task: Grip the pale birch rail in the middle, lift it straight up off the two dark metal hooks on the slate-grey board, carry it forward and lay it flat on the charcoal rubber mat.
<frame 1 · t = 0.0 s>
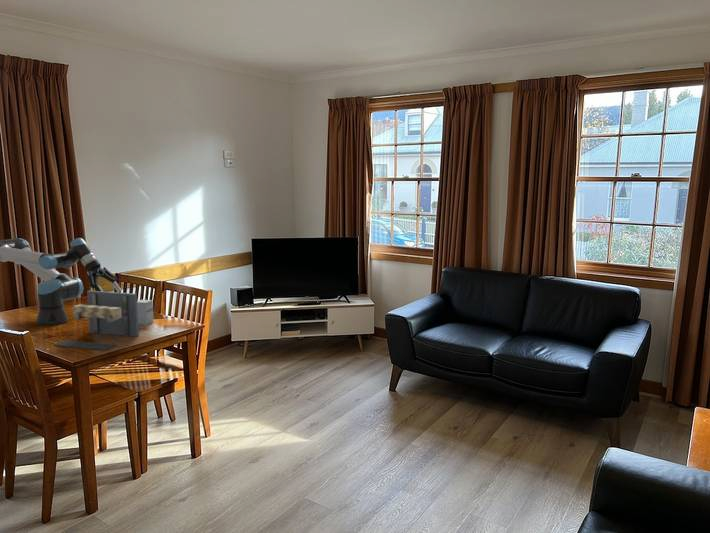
hand: (112, 294, 296), 15 cm above the table, tool tilted 35°, fingers open, 13 cm apart
birch rail: (97, 316, 259), point 12 cm above the table, touching hook standards
wall board: (112, 313, 270), on the table
rubber mat: (85, 345, 251), on the table
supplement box: (144, 323, 293), on the table
hook standards: (99, 339, 261), on the table
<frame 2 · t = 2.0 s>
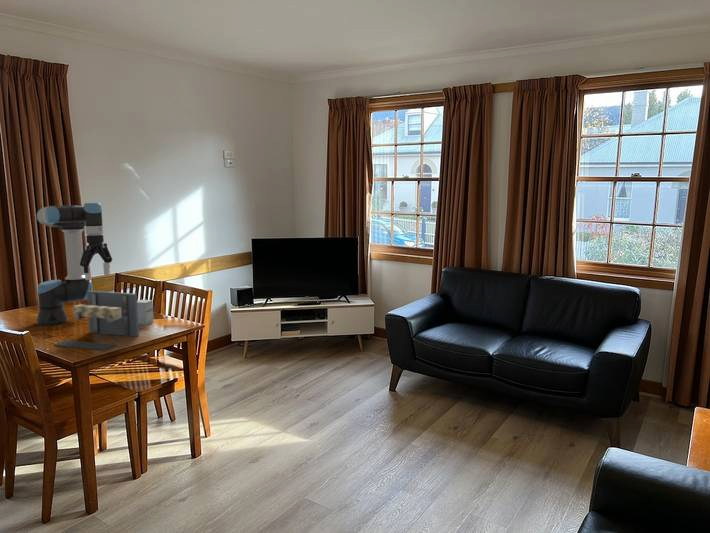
hand: (97, 277, 258), 31 cm above the table, tool pointing down, fingers open, 13 cm apart
nothing on the table moved.
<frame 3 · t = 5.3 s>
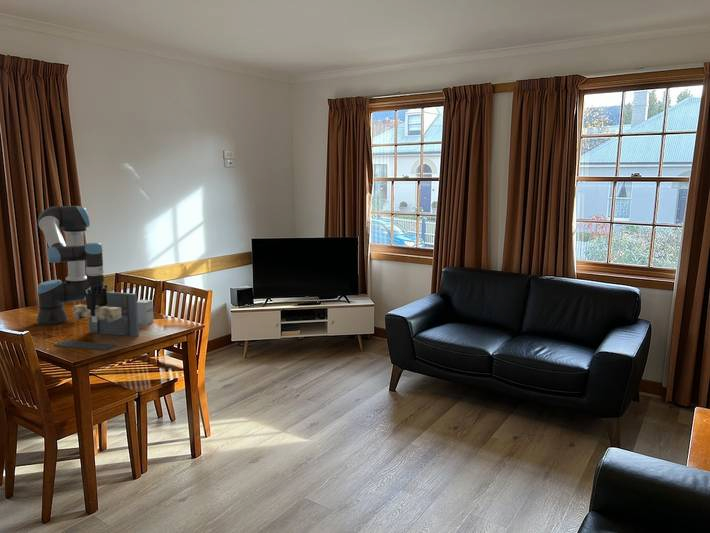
hand: (98, 320, 260), 10 cm above the table, tool pointing down, fingers closed on birch rail, 4 cm apart
birch rail: (97, 316, 259), point 12 cm above the table, touching gripper, hook standards
everything else where it was.
when the fingers open (2 cm above the table, at t = 12.9 s): birch rail drops 3 cm, resting on rubber mat.
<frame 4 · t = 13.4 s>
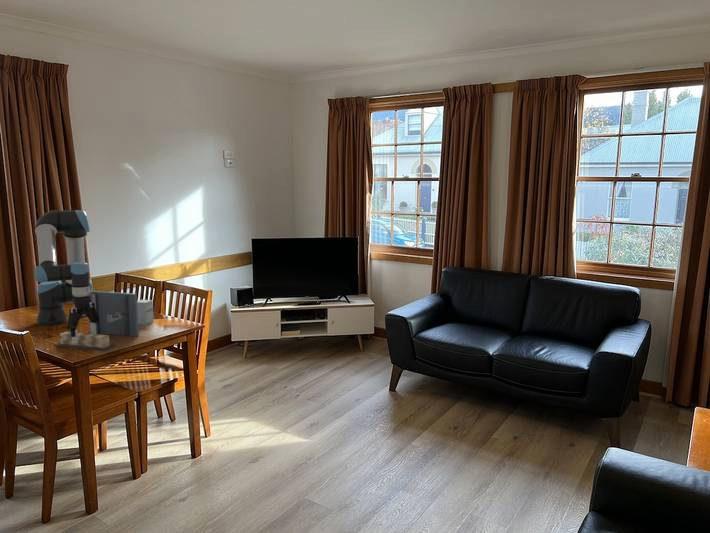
hand: (84, 339, 251), 3 cm above the table, tool pointing down, fingers open, 11 cm apart
birch rail: (85, 344, 251), point 1 cm above the table, touching rubber mat
everything else where it was.
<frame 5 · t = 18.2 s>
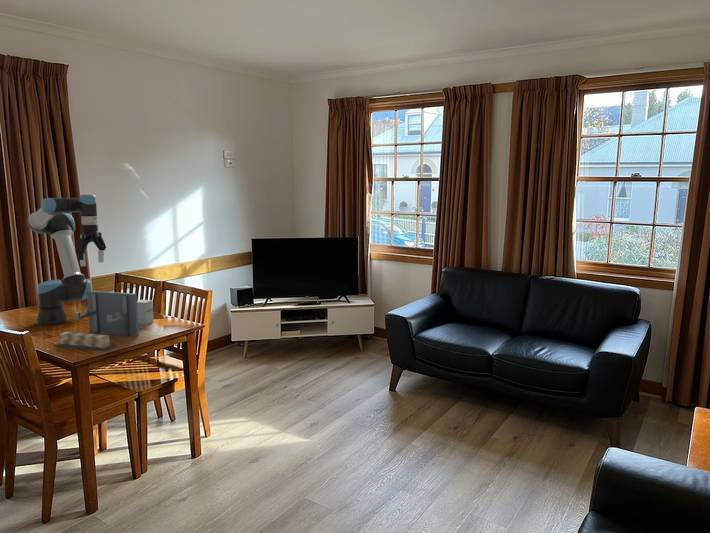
hand: (92, 264, 278), 35 cm above the table, tool pointing down, fingers open, 13 cm apart
nothing on the table moved.
at the end: birch rail inside the target area (0.0 cm from its centre), point 0.6 cm above the table; birch rail touching rubber mat; the gripper is holding nothing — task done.
